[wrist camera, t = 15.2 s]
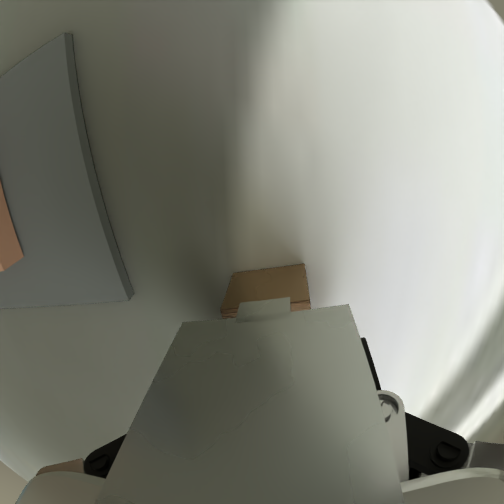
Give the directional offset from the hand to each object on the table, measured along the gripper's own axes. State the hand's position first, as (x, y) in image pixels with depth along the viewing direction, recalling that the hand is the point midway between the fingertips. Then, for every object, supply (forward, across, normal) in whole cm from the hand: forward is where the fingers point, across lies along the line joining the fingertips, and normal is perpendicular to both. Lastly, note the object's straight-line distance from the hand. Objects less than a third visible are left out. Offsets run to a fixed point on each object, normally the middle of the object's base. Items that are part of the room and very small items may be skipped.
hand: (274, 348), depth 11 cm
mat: (+2, +14, -8) cm, 16 cm away
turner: (-4, 0, -3) cm, 5 cm away
